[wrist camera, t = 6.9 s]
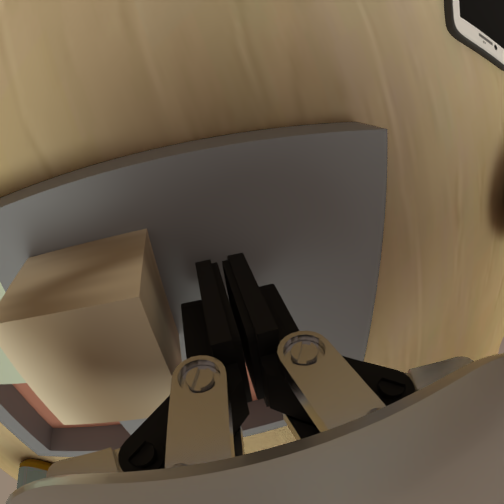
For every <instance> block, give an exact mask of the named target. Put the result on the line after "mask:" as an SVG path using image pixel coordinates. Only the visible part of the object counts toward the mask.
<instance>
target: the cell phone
mask: <svg viewBox="0 0 504 504" xmlns="http://www.w3.org/2000/svg"><path fill="white" fill-rule="evenodd" d="M444 11H445V21H446V27H447V30H448V31H449V33H450V34H451V35H452V36H453V37H454V38H455V39H457V40H458V41H460V42H461V43H463V44H464V45H466V46H468V47H469V48H471V49H472V50H474V51H475V52H477V53H478V54H480V55H481V56H483V57H484V58H486V59H487V60H488V61H490V62H491V63H493V64H494V65H495V66H497V67H498V68H500V69H501V70H503V71H504V0H444Z"/></svg>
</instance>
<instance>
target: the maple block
mask: <svg viewBox="0 0 504 504" xmlns="http://www.w3.org/2000/svg"><path fill="white" fill-rule="evenodd" d="M0 347H1V349H2V350H3V352H4V353H5V355H6V356H7V357H8V359H9V360H10V362H11V363H12V364H13V366H14V367H15V368H16V370H17V371H18V372H19V374H20V375H21V376H22V378H23V379H24V380H25V381H26V383H27V384H28V385H29V386H30V388H31V389H32V390H33V391H34V392H35V394H36V395H37V396H38V397H39V398H40V400H41V401H42V402H43V403H44V404H45V405H46V406H47V407H48V409H49V410H50V411H51V412H52V413H53V414H54V415H55V416H56V417H57V418H58V419H59V420H60V422H61V423H62V424H63V425H77V424H94V423H107V422H118V421H128V420H136V419H144V418H148V417H149V416H150V415H151V414H152V413H153V412H154V411H155V410H156V409H157V408H158V407H159V406H160V405H161V404H162V403H163V402H164V400H165V399H166V398H167V397H168V396H169V395H170V390H171V380H172V375H173V372H174V370H175V369H176V367H177V366H178V365H179V364H180V363H181V362H182V358H181V349H180V340H179V334H178V331H177V328H176V325H175V322H174V319H173V316H172V313H171V310H170V307H169V303H168V300H167V297H166V294H165V291H164V288H163V284H162V281H161V278H160V274H159V271H158V267H157V264H156V260H155V257H154V253H153V250H152V246H151V242H150V239H149V235H148V231H147V229H142V230H138V231H133V232H129V233H125V234H120V235H116V236H112V237H108V238H104V239H99V240H95V241H91V242H87V243H83V244H79V245H75V246H71V247H67V248H64V249H60V250H56V251H52V252H48V253H45V254H41V255H37V256H33V257H30V258H28V259H27V260H26V262H25V263H24V265H23V266H22V268H21V269H20V271H19V272H18V274H17V275H16V277H15V278H14V280H13V281H12V283H11V284H10V286H9V288H8V289H7V291H6V292H5V294H4V296H3V297H2V299H1V301H0Z"/></svg>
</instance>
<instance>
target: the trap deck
mask: <svg viewBox="0 0 504 504" xmlns="http://www.w3.org/2000/svg"><path fill="white" fill-rule="evenodd" d="M386 185H387V129H384V128H380V127H376V126H372V125H367V124H363V123H358V122H340V123H324V124H311V125H300V126H290V127H281V128H272V129H264V130H256V131H249V132H242V133H236V134H229V135H223V136H217V137H211V138H206V139H200V140H195V141H190V142H185V143H180V144H175V145H170V146H166V147H161V148H157V149H153V150H148V151H144V152H140V153H136V154H132V155H128V156H124V157H120V158H117V159H113V160H109V161H106V162H102V163H99V164H95V165H92V166H89V167H85V168H82V169H79V170H76V171H72V172H69V173H66V174H63V175H60V176H57V177H54V178H51V179H49V180H46V181H43V182H40V183H37V184H35V185H32V186H29V187H27V188H24V189H21V190H19V191H16V192H14V193H11V194H9V195H6V196H4V197H1V198H0V301H1V299H2V297H3V296H4V294H5V292H6V291H7V289H8V288H9V286H10V284H11V283H12V281H13V280H14V278H15V277H16V275H17V274H18V272H19V271H20V269H21V268H22V266H23V265H24V263H25V262H26V260H27V259H28V258H30V257H33V256H37V255H41V254H45V253H48V252H52V251H56V250H60V249H64V248H67V247H71V246H75V245H79V244H83V243H87V242H91V241H95V240H99V239H104V238H108V237H112V236H116V235H120V234H125V233H129V232H133V231H138V230H142V229H147V231H148V235H149V239H150V242H151V246H152V250H153V253H154V257H155V260H156V264H157V267H158V271H159V274H160V278H161V281H162V284H163V288H164V291H165V294H166V297H167V300H168V303H169V307H170V310H171V313H172V316H173V319H174V322H175V325H176V328H177V331H178V334H179V340H180V349H181V358H182V362H183V361H184V360H186V359H187V358H186V349H185V341H184V332H183V323H182V313H181V304H182V303H187V302H192V301H197V300H201V294H200V288H199V283H198V277H197V271H196V266H195V262H200V261H205V260H209V259H210V260H211V263H215V262H217V263H218V266H219V269H220V273H221V276H222V279H223V283H224V286H225V289H226V293H227V287H226V282H225V276H224V271H223V265H222V261H225V260H227V256H228V255H233V254H238V253H243V254H244V256H245V258H246V260H247V263H248V265H249V267H250V269H251V271H252V273H253V275H254V278H255V280H256V282H257V284H258V286H264V285H268V284H274V285H275V287H276V288H277V290H278V292H279V294H280V296H281V298H282V299H283V301H284V303H285V305H286V307H287V309H288V311H289V312H290V314H291V316H292V318H293V320H294V322H295V323H296V325H297V327H298V329H299V331H312V332H316V333H319V334H321V335H323V336H324V337H325V338H326V339H327V340H328V341H329V342H330V343H331V344H332V345H333V346H334V348H335V349H336V350H337V351H338V352H339V353H340V354H341V356H345V357H348V358H352V359H356V360H359V361H364V357H365V352H366V347H367V342H368V337H369V332H370V326H371V321H372V315H373V309H374V303H375V297H376V290H377V283H378V276H379V268H380V260H381V251H382V241H383V230H384V218H385V204H386ZM227 296H228V293H227ZM228 299H229V298H228ZM245 364H246V363H245ZM246 369H247V366H246ZM247 375H248V380H249V385H250V390H251V395H252V402H248V403H247V404H248V408H249V412H250V414H249V415H248V417H247V418H246V419H245V421H244V422H243V424H242V425H241V427H242V431H243V437H246V436H250V435H254V434H258V433H262V432H266V431H269V430H273V429H277V428H280V427H283V426H287V424H286V422H285V421H284V419H283V416H282V414H281V412H278V411H276V410H273V409H271V408H270V406H269V407H266V404H265V401H264V399H260V400H258V399H257V397H256V394H255V391H254V388H253V385H252V382H251V379H250V375H249V372H248V369H247ZM146 419H147V418H144V419H136V420H128V421H118V422H107V423H94V424H77V425H63V424H62V423H61V422H60V420H59V419H58V418H57V417H56V416H55V415H54V414H53V413H52V412H51V411H50V410H49V409H48V407H47V406H46V405H45V404H44V403H43V402H42V401H41V400H40V398H39V397H38V396H37V395H36V394H35V392H34V391H33V390H32V389H31V388H30V386H29V385H28V384H27V383H26V381H25V380H24V379H23V378H22V376H21V375H20V374H19V372H18V371H17V370H16V368H15V367H14V366H13V364H12V363H11V362H10V360H9V359H8V357H7V356H6V355H5V353H4V352H3V350H2V349H1V347H0V422H1V423H2V424H3V425H4V426H5V427H6V428H7V429H8V430H9V431H11V432H12V433H13V434H14V435H15V436H16V437H17V438H18V439H19V440H21V441H22V442H23V443H24V444H25V445H26V446H28V447H29V448H30V449H31V450H32V451H34V452H35V453H36V454H37V455H40V456H60V457H76V456H81V455H85V454H88V453H92V452H96V451H100V450H103V449H107V448H110V447H111V448H112V449H113V450H115V449H119V448H120V447H121V446H122V445H123V443H124V442H125V441H126V440H127V439H128V438H129V437H130V436H131V435H132V434H133V433H134V432H135V431H136V430H137V428H138V427H139V426H140V425H141V424H142V423H143V422H144V421H145V420H146Z"/></svg>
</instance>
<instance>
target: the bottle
mask: <svg viewBox="0 0 504 504" xmlns="http://www.w3.org/2000/svg"><path fill="white" fill-rule="evenodd" d="M51 465H52V464H51V463H49V462H45V461H41V460H36V459H27V460H25V461H23V462H21V463H20V468H19V474H18V483H17V489H18V488H20V487H22V486H24V485H26V484H28V483H31V482H33V481H36V480H40V479H43V478H46V474H47V471H48V469H49V467H50V466H51Z"/></svg>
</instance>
